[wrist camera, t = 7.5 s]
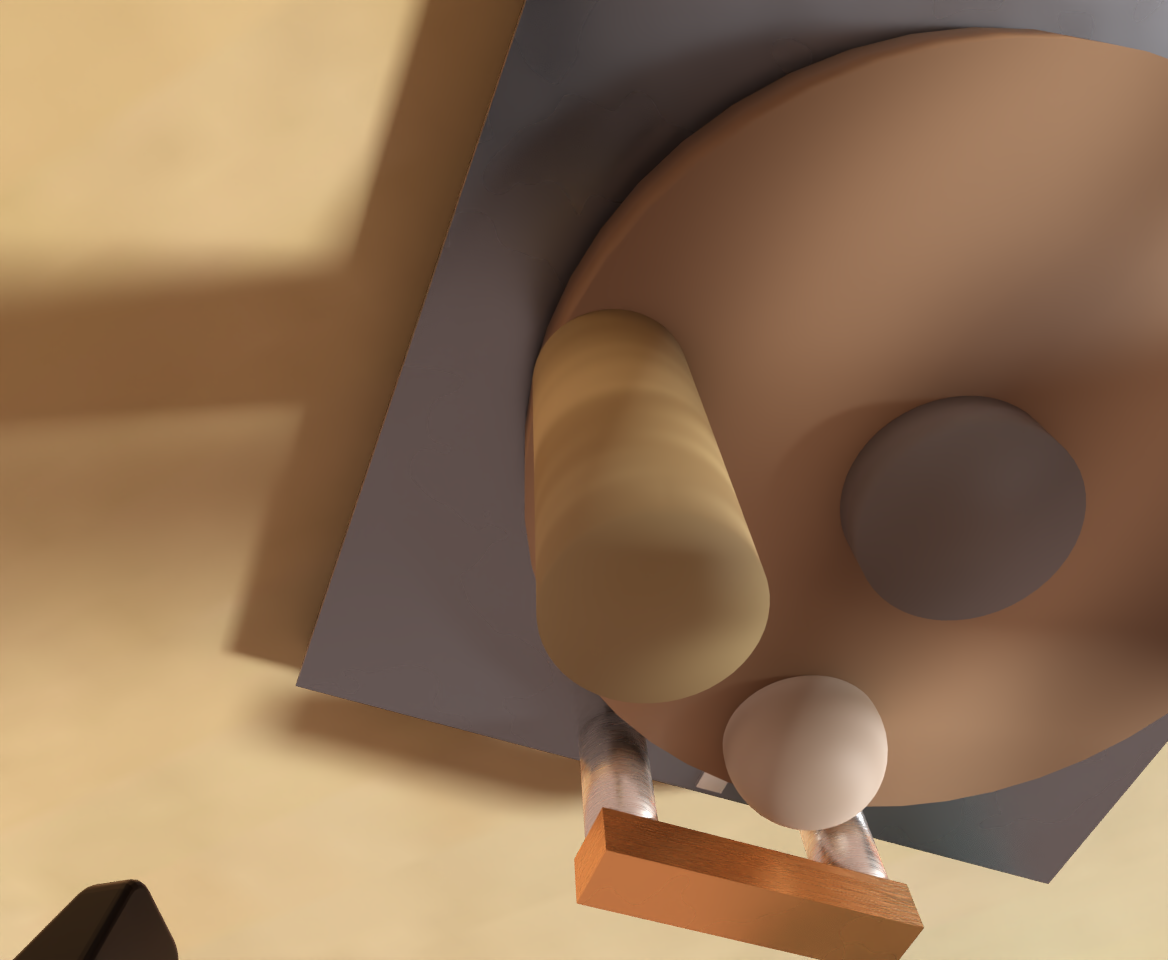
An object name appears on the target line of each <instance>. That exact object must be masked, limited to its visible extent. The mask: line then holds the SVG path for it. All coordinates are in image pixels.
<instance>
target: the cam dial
mask: <svg viewBox="0 0 1168 960" xmlns="http://www.w3.org/2000/svg"><path fill="white" fill-rule="evenodd" d="M525 524H526V531H527V538H528V545H529V552H530V559H531V565H532V569H533V572H534V575H535V579H536V618H537V625H538V632H539V635H540V638H541V641H542V644H543V646H544V648H545V650H546V652H547V654H548V655H549V657H550V658H551V660H552V661H553V663H554V664H555V665H556V666H557V667H558V668H559V669H560V670H561V672H562V673H563V674H564V675H566V676H567V677H568V678H569V679H571V680H572V681H573V682H575V683H576V684H578V685H579V686H581V687H583V688H584V689H586V690H588V691H590V692H593V693H595V694H597V695H599V696H600V697H601V698H602V699H603V700H604V701H605V702H606V703H607V704H608V706H609V707H610V708H611V709H612V710H613V711H614V712H615V713H616V714H617V715H618V716H619V717H620V718H622V719H623V720H624V721H625V722H627V723H628V724H629V725H630V726H631V727H633V728H634V729H635V730H636V731H638V732H639V733H640V734H641V735H643V736H644V737H645V738H646V739H648V740H649V741H650V742H652V743H653V744H655V745H656V746H658V747H660V748H661V749H663V750H665V751H666V752H668V753H670V754H671V755H673V756H674V757H676V758H678V759H679V760H681V761H683V762H684V763H686V764H688V765H690V766H692V767H695V768H697V769H699V770H701V771H704V772H706V773H708V774H710V775H712V776H715V777H717V778H719V779H721V780H724V781H726V782H729V783H732V784H733V785H734V786H735V788H736V790H737V791H738V793H739V794H740V795H741V797H742V798H743V799H744V800H745V801H746V803H747V804H748V805H749V806H750V807H752V808H753V809H754V810H755V811H756V812H758V813H759V814H760V815H761V816H763V817H765V818H766V819H768V820H770V821H772V822H774V823H776V824H778V825H781V826H784V827H788V828H791V829H797V830H806V831H808V830H822V829H827V828H831V827H834V826H837V825H839V824H842V823H844V822H846V821H848V820H850V819H851V818H853V817H855V816H856V815H857V814H859V813H860V812H861V811H862V810H863V809H864V808H865V807H873V806H907V805H916V804H925V803H934V802H943V801H950V800H955V799H960V798H965V797H969V796H974V795H979V794H984V793H989V792H994V791H997V790H1000V789H1004V788H1007V787H1010V786H1014V785H1017V784H1020V783H1024V782H1027V781H1030V780H1034V779H1037V778H1040V777H1043V776H1045V775H1048V774H1050V773H1053V772H1055V771H1058V770H1060V769H1063V768H1065V767H1068V766H1070V765H1073V764H1075V763H1078V762H1080V761H1083V760H1085V759H1087V758H1089V757H1091V756H1093V755H1095V754H1097V753H1099V752H1101V751H1103V750H1105V749H1107V748H1109V747H1111V746H1113V745H1115V744H1117V743H1119V742H1121V741H1123V740H1125V739H1127V738H1129V737H1131V736H1132V735H1134V734H1135V733H1137V732H1139V731H1140V730H1142V729H1143V728H1145V727H1147V726H1148V725H1150V724H1151V723H1153V722H1155V721H1156V720H1158V719H1159V718H1161V717H1163V716H1164V715H1166V714H1167V713H1168V59H1167V58H1164V57H1161V56H1159V55H1156V54H1153V53H1150V52H1148V51H1143V50H1138V49H1133V48H1128V47H1123V46H1119V45H1114V44H1109V43H1104V42H1099V41H1094V40H1089V39H1084V38H1079V37H1073V36H1068V35H1062V34H1057V33H1052V32H1046V31H1041V30H1035V29H1015V28H984V27H969V28H960V29H951V30H942V31H933V32H924V33H915V34H909V35H905V36H901V37H897V38H893V39H889V40H885V41H881V42H877V43H873V44H869V45H865V46H861V47H857V48H853V49H849V50H847V51H844V52H842V53H839V54H837V55H834V56H832V57H829V58H826V59H824V60H821V61H819V62H816V63H814V64H811V65H809V66H806V67H804V68H801V69H799V70H796V71H794V72H791V73H789V74H787V75H785V76H784V77H782V78H780V79H778V80H776V81H775V82H773V83H771V84H769V85H767V86H765V87H764V88H762V89H760V90H758V91H756V92H755V93H753V94H751V95H749V96H747V97H746V98H744V99H742V100H740V101H738V102H737V103H735V104H733V105H732V106H730V107H729V108H728V109H726V110H725V111H724V112H722V113H721V114H719V115H718V116H717V117H715V118H714V119H713V120H711V121H710V122H708V123H707V124H706V125H704V126H703V127H702V128H700V129H699V130H698V131H696V132H695V133H693V134H692V135H691V136H689V137H688V138H687V139H685V140H684V141H683V142H682V143H680V144H679V145H678V146H677V147H676V148H675V149H674V150H673V151H672V152H671V153H670V154H669V155H668V156H667V157H666V158H665V159H663V160H662V161H661V162H660V163H659V164H658V165H657V166H656V167H655V168H654V169H653V170H652V171H651V172H650V173H649V174H648V175H647V176H645V177H644V178H643V179H642V180H641V181H640V182H639V183H638V184H637V185H636V187H635V188H634V189H633V190H632V191H631V193H630V194H629V195H628V196H627V198H626V199H625V200H624V201H623V202H622V204H621V205H620V206H619V207H618V208H617V210H616V211H615V212H614V213H613V215H612V216H611V217H610V218H609V219H608V221H607V222H606V223H605V224H604V226H603V227H602V228H601V229H600V231H599V232H598V234H597V235H596V237H595V239H594V240H593V242H592V243H591V245H590V247H589V248H588V250H587V251H586V253H585V255H584V256H583V258H582V259H581V261H580V263H579V264H578V266H577V267H576V269H575V271H574V272H573V274H572V275H571V277H570V279H569V281H568V283H567V285H566V288H565V290H564V292H563V294H562V296H561V299H560V301H559V303H558V305H557V307H556V310H555V312H554V314H553V316H552V318H551V320H550V323H549V325H548V327H547V330H546V334H545V337H544V340H543V344H542V347H541V350H540V353H539V356H538V358H537V361H536V364H535V367H534V373H533V377H532V383H531V390H530V396H529V403H528V409H527V416H526V422H525Z"/></svg>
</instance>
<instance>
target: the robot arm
mask: <svg viewBox="0 0 1168 960" xmlns="http://www.w3.org/2000/svg"><path fill="white" fill-rule="evenodd" d="M13 960H178V952H177V948H176V944H175V942H174V939H173V937H172V935H171V933H170V931H169V929H168V927H167V925H166V924H165V922H164V920H163V918H162V916H161V914H160V912H159V910H158V908H157V906H156V904H155V902H154V900H153V898H152V896H151V894H150V892H149V890H148V889H147V887H146V886H145V885H144V884H143V883H142V882H140V881H138V880H133V879H130V880H123V881H116V882H109V883H103V884H96V885H92V886H90V887H87V888H86V889H84V890H83V891H82V892H80V893H79V894H78V895H77V896H76V897H75V898H74V899H73V900H72V901H71V902H70V903H69V904H68V905H67V906H66V907H65V908H64V909H63V910H62V911H61V912H60V913H59V914H58V915H57V916H56V917H55V918H54V919H53V920H52V921H51V922H50V923H49V924H48V925H47V926H46V927H45V928H44V929H43V930H42V931H41V932H40V933H39V934H38V935H37V936H36V937H35V938H34V939H33V940H32V941H31V942H30V943H29V944H28V945H27V946H26V947H25V948H24V949H23V950H22V951H21V952H20V953H19V954H18V955H17V956H16V957H15V958H14V959H13Z"/></svg>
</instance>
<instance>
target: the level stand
mask: <svg viewBox="0 0 1168 960" xmlns="http://www.w3.org/2000/svg"><path fill="white" fill-rule="evenodd" d="M969 27H984V28H1015V29H1035V30H1041V31H1046V32H1052V33H1057V34H1062V35H1068V36H1073V37H1079V38H1084V39H1089V40H1094V41H1099V42H1104V43H1109V44H1114V45H1119V46H1123V47H1128V48H1133V49H1138V50H1143V51H1148V52H1150V53H1153V54H1156V55H1159V56H1161V57H1164V58H1167V59H1168V0H524V3H523V6H522V9H521V12H520V15H519V18H518V21H517V24H516V27H515V30H514V33H513V36H512V39H511V42H510V45H509V48H508V51H507V54H506V57H505V60H504V63H503V66H502V69H501V72H500V75H499V78H498V81H497V84H496V87H495V90H494V93H493V96H492V99H491V102H490V105H489V108H488V111H487V114H486V117H485V120H484V123H483V126H482V129H481V132H480V134H479V137H478V140H477V143H476V146H475V149H474V152H473V155H472V158H471V161H470V164H469V167H468V170H467V173H466V176H465V179H464V182H463V185H462V188H461V191H460V194H459V197H458V200H457V203H456V206H455V209H454V212H453V215H452V218H451V221H450V224H449V227H448V230H447V233H446V236H445V239H444V242H443V245H442V248H441V251H440V254H439V257H438V260H437V263H436V266H435V269H434V271H433V274H432V277H431V280H430V283H429V286H428V289H427V292H426V295H425V298H424V301H423V304H422V307H421V310H420V313H419V316H418V319H417V322H416V325H415V328H414V331H413V334H412V337H411V340H410V343H409V346H408V349H407V352H406V355H405V358H404V361H403V364H402V367H401V370H400V373H399V376H398V379H397V382H396V385H395V388H394V391H393V394H392V397H391V400H390V403H389V406H388V408H387V411H386V414H385V417H384V420H383V423H382V426H381V429H380V432H379V435H378V438H377V441H376V444H375V447H374V450H373V453H372V456H371V459H370V462H369V465H368V468H367V471H366V474H365V477H364V480H363V483H362V486H361V489H360V492H359V495H358V498H357V501H356V504H355V507H354V510H353V513H352V516H351V519H350V522H349V525H348V528H347V531H346V534H345V537H344V540H343V543H342V545H341V548H340V551H339V554H338V557H337V560H336V563H335V566H334V569H333V572H332V575H331V578H330V581H329V584H328V587H327V590H326V593H325V596H324V599H323V602H322V605H321V608H320V611H319V614H318V617H317V620H316V623H315V626H314V629H313V632H312V635H311V638H310V641H309V644H308V647H307V650H306V653H305V657H304V660H303V663H302V667H301V670H300V673H299V677H298V680H297V683H296V686H298V687H302V688H306V689H310V690H313V691H317V692H321V693H325V694H329V695H332V696H336V697H340V698H344V699H348V700H351V701H355V702H359V703H363V704H367V705H370V706H374V707H378V708H382V709H386V710H389V711H393V712H397V713H401V714H405V715H408V716H412V717H416V718H420V719H424V720H427V721H431V722H435V723H439V724H443V725H446V726H450V727H454V728H458V729H462V730H465V731H469V732H473V733H477V734H481V735H484V736H488V737H492V738H496V739H500V740H503V741H507V742H511V743H515V744H519V745H522V746H526V747H530V748H534V749H538V750H541V751H545V752H549V753H553V754H557V755H560V756H564V757H568V758H572V759H576V760H579V761H580V768H581V783H582V798H583V813H584V828H585V840H584V842H583V844H582V846H581V848H580V850H579V851H578V853H577V855H576V857H575V859H574V861H575V880H576V899H577V904H582V905H586V906H590V907H595V908H599V909H603V910H608V911H612V912H616V913H621V914H625V915H629V916H634V917H638V918H642V919H647V920H651V921H655V922H660V923H664V924H668V925H673V926H677V927H681V928H686V929H690V930H694V931H698V932H703V933H707V934H711V935H716V936H720V937H724V938H729V939H733V940H737V941H742V942H746V943H750V944H755V945H759V946H763V947H768V948H772V949H776V950H781V951H785V952H789V953H794V954H798V955H802V956H807V957H811V958H815V959H820V960H899V959H900V958H901V957H902V955H903V954H904V953H905V951H906V950H907V949H908V948H909V946H910V945H911V944H912V943H913V941H914V940H915V939H916V937H917V936H918V935H919V934H920V932H921V931H922V930H923V928H924V927H923V924H922V922H921V919H920V917H919V914H918V912H917V909H916V907H915V904H914V902H913V899H912V897H911V894H910V892H909V889H908V887H907V884H904V883H900V882H896V881H892V880H889V879H888V876H887V874H886V871H885V869H884V866H883V863H882V861H881V858H880V855H879V853H878V850H877V847H876V845H875V842H874V840H873V838H876V839H879V840H883V841H887V842H891V843H895V844H898V845H902V846H906V847H910V848H914V849H917V850H921V851H925V852H929V853H933V854H936V855H940V856H944V857H948V858H952V859H955V860H959V861H963V862H967V863H971V864H974V865H978V866H982V867H986V868H990V869H993V870H997V871H1001V872H1005V873H1009V874H1012V875H1016V876H1020V877H1024V878H1028V879H1031V880H1035V881H1039V882H1043V883H1047V884H1049V882H1050V881H1051V880H1052V879H1053V878H1054V876H1055V875H1056V874H1057V873H1058V872H1059V870H1060V869H1061V868H1062V867H1063V866H1064V864H1065V863H1066V862H1067V861H1068V860H1069V858H1070V857H1071V856H1072V855H1073V854H1074V853H1075V851H1076V850H1077V849H1078V848H1079V847H1080V845H1081V844H1082V843H1083V842H1084V841H1085V839H1086V838H1087V837H1088V836H1089V835H1090V833H1091V832H1092V831H1093V830H1094V829H1095V827H1096V826H1097V825H1098V824H1099V823H1100V821H1101V820H1102V819H1103V818H1104V817H1105V815H1106V814H1107V813H1108V812H1109V811H1110V809H1111V808H1112V807H1113V806H1114V805H1115V803H1116V802H1117V801H1118V800H1119V799H1120V797H1121V796H1122V795H1123V794H1124V793H1125V792H1126V790H1127V789H1128V788H1129V787H1130V786H1131V784H1132V783H1133V782H1134V781H1135V780H1136V778H1137V777H1138V776H1139V775H1140V774H1141V772H1142V771H1143V770H1144V769H1145V768H1146V766H1147V765H1148V764H1149V763H1150V762H1151V760H1152V759H1153V758H1154V757H1155V756H1156V754H1157V753H1158V752H1159V751H1160V750H1161V748H1162V747H1163V746H1164V745H1165V744H1166V742H1167V741H1168V713H1167V714H1166V715H1164V716H1163V717H1161V718H1159V719H1158V720H1156V721H1155V722H1153V723H1151V724H1150V725H1148V726H1147V727H1145V728H1143V729H1142V730H1140V731H1139V732H1137V733H1135V734H1134V735H1132V736H1131V737H1129V738H1127V739H1125V740H1123V741H1121V742H1119V743H1117V744H1115V745H1113V746H1111V747H1109V748H1107V749H1105V750H1103V751H1101V752H1099V753H1097V754H1095V755H1093V756H1091V757H1089V758H1087V759H1085V760H1083V761H1080V762H1078V763H1075V764H1073V765H1070V766H1068V767H1065V768H1063V769H1060V770H1058V771H1055V772H1053V773H1050V774H1048V775H1045V776H1043V777H1040V778H1037V779H1034V780H1030V781H1027V782H1024V783H1020V784H1017V785H1014V786H1010V787H1007V788H1004V789H1000V790H997V791H994V792H989V793H984V794H979V795H974V796H969V797H965V798H960V799H955V800H950V801H943V802H934V803H925V804H916V805H907V806H873V807H865V808H864V809H863V810H862V811H861V812H860V813H859V814H857V815H856V816H855V817H853V818H851V819H850V820H848V821H846V822H844V823H842V824H839V825H837V826H834V827H831V828H827V829H822V830H808V831H806V830H799V831H800V834H801V837H802V841H803V844H804V847H805V851H806V854H807V857H808V859H805V858H801V857H797V856H793V855H790V854H786V853H782V852H778V851H774V850H770V849H766V848H762V847H758V846H754V845H750V844H746V843H742V842H738V841H734V840H731V839H727V838H723V837H719V836H715V835H711V834H707V833H703V832H699V831H695V830H691V829H687V828H683V827H679V826H675V825H672V824H668V823H664V822H660V821H658V817H657V810H656V803H655V796H654V790H653V783H652V780H655V781H659V782H663V783H667V784H671V785H674V786H678V787H682V788H686V789H690V790H693V791H697V792H701V793H705V794H709V795H712V796H716V797H720V798H724V799H728V800H731V801H735V802H739V803H743V804H746V805H748V804H747V803H746V801H745V800H744V799H743V798H742V797H741V795H740V794H739V793H738V791H737V790H736V788H735V786H734V785H733V784H732V783H729V782H726V781H724V780H721V779H719V778H717V777H715V776H712V775H710V774H708V773H706V772H704V771H701V770H699V769H697V768H695V767H692V766H690V765H688V764H686V763H684V762H683V761H681V760H679V759H678V758H676V757H674V756H673V755H671V754H670V753H668V752H666V751H665V750H663V749H661V748H660V747H658V746H656V745H655V744H653V743H652V742H650V741H649V740H648V739H646V738H645V737H644V736H643V735H641V734H640V733H639V732H638V731H636V730H635V729H634V728H633V727H631V726H630V725H629V724H628V723H627V722H625V721H624V720H623V719H622V718H620V717H619V716H618V715H617V714H616V713H615V712H614V711H613V710H612V709H611V708H610V707H609V706H608V704H607V703H606V702H605V701H604V700H603V699H602V698H601V697H600V696H599V695H597V694H595V693H593V692H590V691H588V690H586V689H584V688H583V687H581V686H579V685H578V684H576V683H575V682H573V681H572V680H571V679H569V678H568V677H567V676H566V675H564V674H563V673H562V672H561V670H560V669H559V668H558V667H557V666H556V665H555V664H554V663H553V661H552V660H551V658H550V657H549V655H548V654H547V652H546V650H545V648H544V646H543V644H542V641H541V638H540V635H539V632H538V625H537V618H536V579H535V575H534V572H533V569H532V565H531V559H530V552H529V545H528V538H527V531H526V524H525V422H526V416H527V409H528V403H529V396H530V390H531V383H532V377H533V373H534V367H535V364H536V361H537V358H538V356H539V353H540V350H541V347H542V344H543V340H544V337H545V334H546V330H547V327H548V325H549V323H550V320H551V318H552V316H553V314H554V312H555V310H556V307H557V305H558V303H559V301H560V299H561V296H562V294H563V292H564V290H565V288H566V285H567V283H568V281H569V279H570V277H571V275H572V274H573V272H574V271H575V269H576V267H577V266H578V264H579V263H580V261H581V259H582V258H583V256H584V255H585V253H586V251H587V250H588V248H589V247H590V245H591V243H592V242H593V240H594V239H595V237H596V235H597V234H598V232H599V231H600V229H601V228H602V227H603V226H604V224H605V223H606V222H607V221H608V219H609V218H610V217H611V216H612V215H613V213H614V212H615V211H616V210H617V208H618V207H619V206H620V205H621V204H622V202H623V201H624V200H625V199H626V198H627V196H628V195H629V194H630V193H631V191H632V190H633V189H634V188H635V187H636V185H637V184H638V183H639V182H640V181H641V180H642V179H643V178H644V177H645V176H647V175H648V174H649V173H650V172H651V171H652V170H653V169H654V168H655V167H656V166H657V165H658V164H659V163H660V162H661V161H662V160H663V159H665V158H666V157H667V156H668V155H669V154H670V153H671V152H672V151H673V150H674V149H675V148H676V147H677V146H678V145H679V144H680V143H682V142H683V141H684V140H685V139H687V138H688V137H689V136H691V135H692V134H693V133H695V132H696V131H698V130H699V129H700V128H702V127H703V126H704V125H706V124H707V123H708V122H710V121H711V120H713V119H714V118H715V117H717V116H718V115H719V114H721V113H722V112H724V111H725V110H726V109H728V108H729V107H730V106H732V105H733V104H735V103H737V102H738V101H740V100H742V99H744V98H746V97H747V96H749V95H751V94H753V93H755V92H756V91H758V90H760V89H762V88H764V87H765V86H767V85H769V84H771V83H773V82H775V81H776V80H778V79H780V78H782V77H784V76H785V75H787V74H789V73H791V72H794V71H796V70H799V69H801V68H804V67H806V66H809V65H811V64H814V63H816V62H819V61H821V60H824V59H826V58H829V57H832V56H834V55H837V54H839V53H842V52H844V51H847V50H849V49H853V48H857V47H861V46H865V45H869V44H873V43H877V42H881V41H885V40H889V39H893V38H897V37H901V36H905V35H909V34H915V33H924V32H933V31H942V30H951V29H960V28H969Z"/></svg>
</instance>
